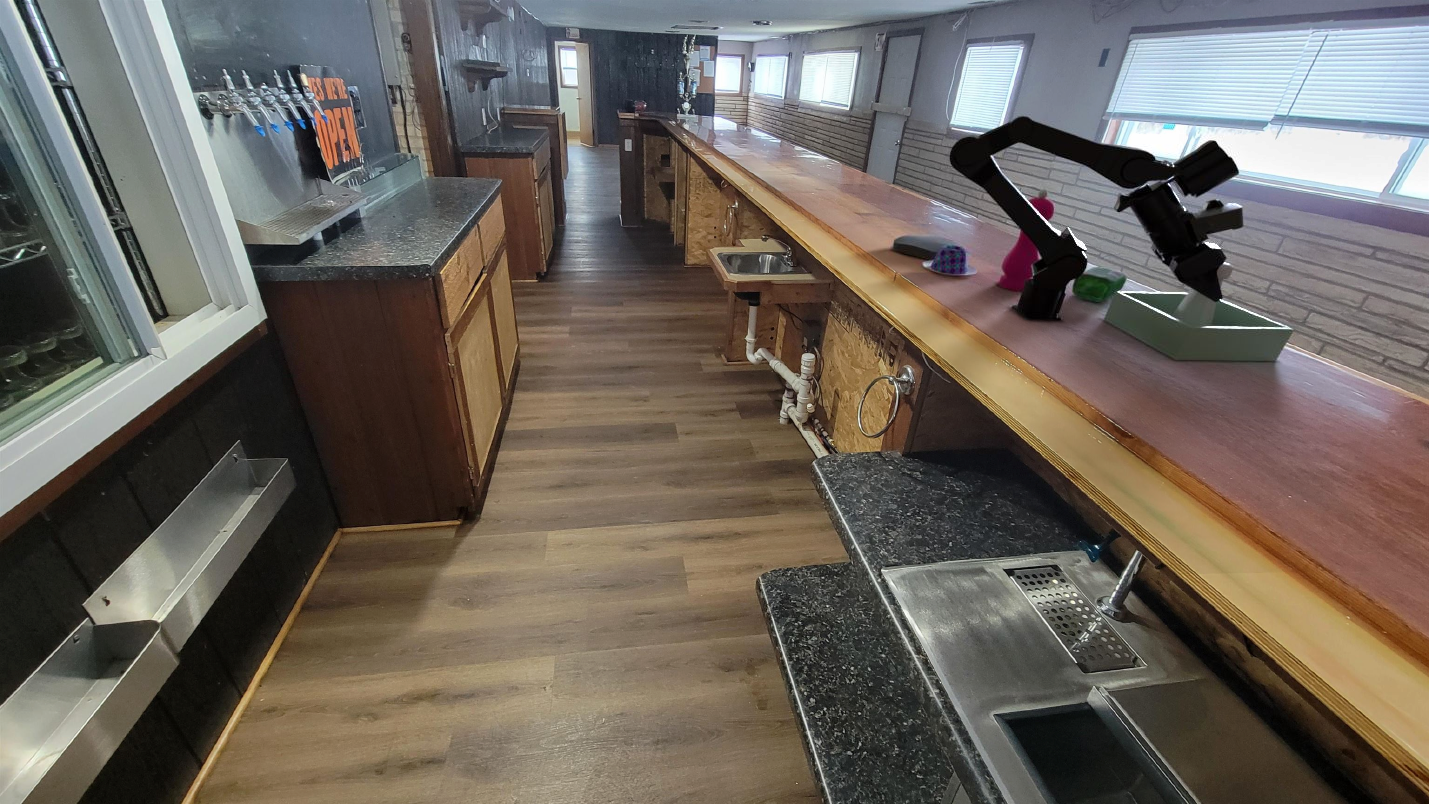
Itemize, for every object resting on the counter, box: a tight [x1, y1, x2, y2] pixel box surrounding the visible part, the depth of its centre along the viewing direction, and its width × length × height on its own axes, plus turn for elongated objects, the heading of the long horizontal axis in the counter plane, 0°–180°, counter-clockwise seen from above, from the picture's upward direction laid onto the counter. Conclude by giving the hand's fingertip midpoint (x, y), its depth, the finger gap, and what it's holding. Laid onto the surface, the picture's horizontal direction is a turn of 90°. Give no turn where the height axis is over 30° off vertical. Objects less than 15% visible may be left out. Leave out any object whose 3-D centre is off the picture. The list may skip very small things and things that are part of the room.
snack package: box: [1071, 266, 1128, 303], centre depth 118 cm, size 7×16×5 cm, turn 131°
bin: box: [1103, 290, 1295, 362], centre depth 98 cm, size 18×18×6 cm
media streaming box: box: [892, 234, 964, 260], centre depth 144 cm, size 15×15×3 cm
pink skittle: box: [998, 189, 1056, 292], centre depth 117 cm, size 7×7×20 cm
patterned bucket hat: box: [922, 245, 978, 277], centre depth 130 cm, size 12×12×5 cm
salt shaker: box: [1172, 261, 1234, 326], centre depth 96 cm, size 6×6×13 cm
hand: (1210, 292), depth 95 cm, fingers open, 9 cm apart
